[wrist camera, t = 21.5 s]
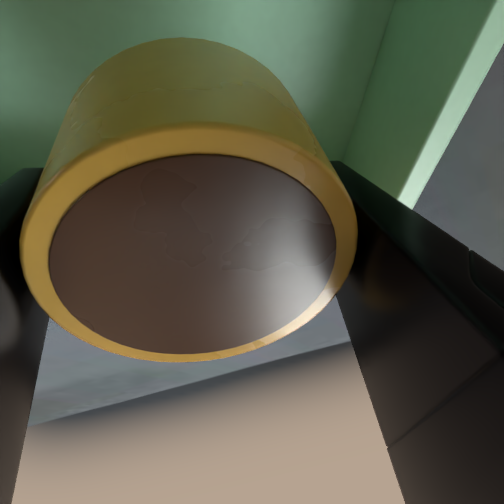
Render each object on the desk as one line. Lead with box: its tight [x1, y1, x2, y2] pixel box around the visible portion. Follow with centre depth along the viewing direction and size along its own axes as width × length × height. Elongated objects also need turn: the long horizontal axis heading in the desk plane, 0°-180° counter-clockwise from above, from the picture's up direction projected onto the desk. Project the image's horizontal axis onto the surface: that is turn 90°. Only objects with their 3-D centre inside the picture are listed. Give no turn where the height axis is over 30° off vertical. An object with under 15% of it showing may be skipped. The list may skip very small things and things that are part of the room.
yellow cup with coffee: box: [19, 37, 358, 362], centre depth 8 cm, size 5×5×4 cm
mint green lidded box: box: [0, 0, 504, 209], centre depth 9 cm, size 10×13×4 cm
